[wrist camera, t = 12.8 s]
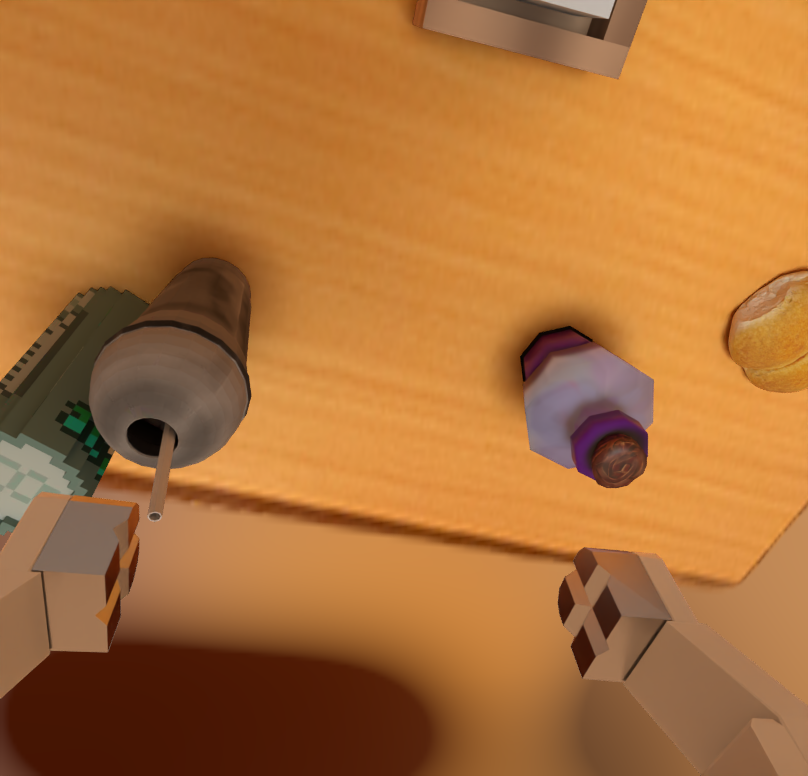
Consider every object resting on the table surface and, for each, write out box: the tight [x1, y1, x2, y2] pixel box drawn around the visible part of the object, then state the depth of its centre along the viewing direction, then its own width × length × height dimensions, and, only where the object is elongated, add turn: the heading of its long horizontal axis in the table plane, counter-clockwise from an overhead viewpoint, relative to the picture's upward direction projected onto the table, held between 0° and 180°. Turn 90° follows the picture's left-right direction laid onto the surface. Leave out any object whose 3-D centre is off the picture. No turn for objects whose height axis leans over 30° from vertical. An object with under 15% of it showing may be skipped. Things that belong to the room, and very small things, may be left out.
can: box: [0, 286, 149, 535], centre depth 34 cm, size 6×6×15 cm
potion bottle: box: [520, 326, 654, 488], centre depth 39 cm, size 9×9×12 cm
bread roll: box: [728, 271, 808, 393], centre depth 43 cm, size 8×9×4 cm
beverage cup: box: [89, 258, 251, 521], centre depth 31 cm, size 7×7×20 cm
